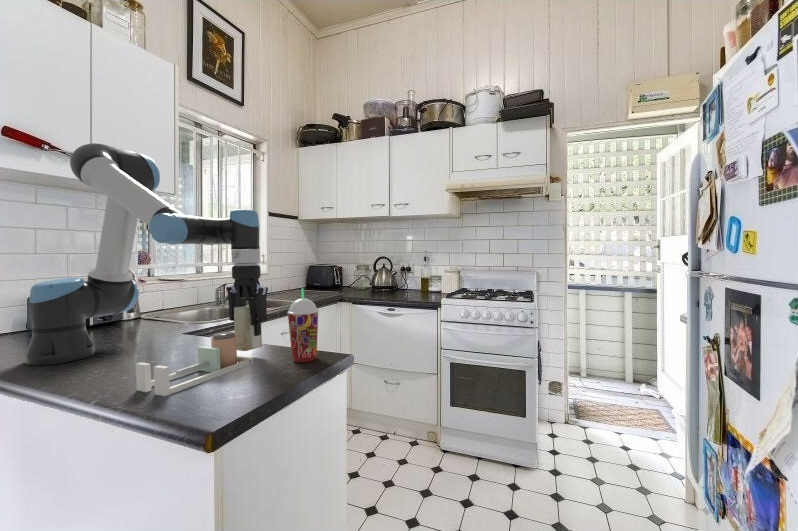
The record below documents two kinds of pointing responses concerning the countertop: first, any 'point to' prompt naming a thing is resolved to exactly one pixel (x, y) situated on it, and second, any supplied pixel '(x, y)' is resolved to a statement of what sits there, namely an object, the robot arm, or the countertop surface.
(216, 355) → the pusher
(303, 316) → the smoothie
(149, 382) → the lane
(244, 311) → the skincare box
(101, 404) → the countertop surface
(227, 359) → the jar
